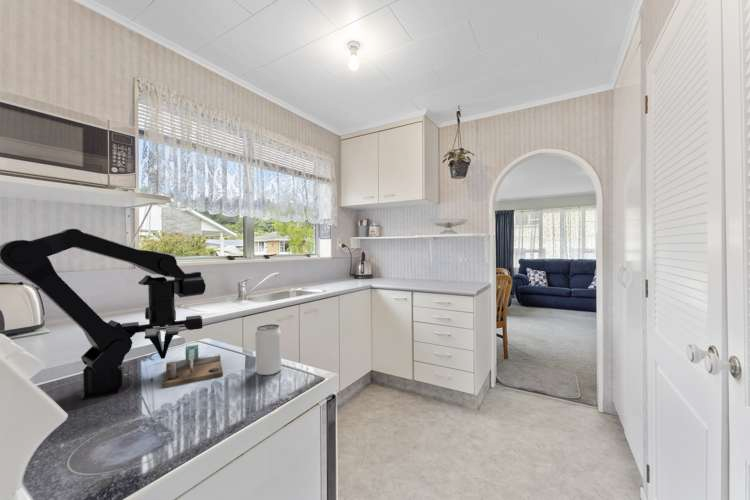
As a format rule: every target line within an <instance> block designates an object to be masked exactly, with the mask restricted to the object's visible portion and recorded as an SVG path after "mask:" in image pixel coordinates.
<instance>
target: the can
mask: <svg viewBox="0 0 750 500" xmlns="http://www.w3.org/2000/svg"><path fill="white" fill-rule="evenodd" d="M281 336H282V332H281V329H280V325H279V324H275V323H274V324H273V323H271V324H270V323H269V324H263V325H259V326H257V327H256V332H255V370H256V371H255V373H257V375H259V374H260V375H259V376H262V375H268V376H273V375H276V374H278V373H279V372H281V369H282V337H281ZM275 373H276V374H275ZM272 374H273V375H272Z"/></svg>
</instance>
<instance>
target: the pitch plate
mask: <svg viewBox="0 0 750 500" xmlns="http://www.w3.org/2000/svg"><path fill="white" fill-rule="evenodd" d="M222 366H223V365H222V362H221V353H216V354H211V355H204V356H198V359H196V360H193V373H190V361H186V358H185V359H180V360H174V361H168V362H166V363H165V368H166V369H165V373H164V377H163V382H162V388H163V389H164V388H169V387H174V386H179V385H184V384H189V383H193V382H194V383H195V382H199V380H200V381H204V380H203V379H205V380H209V378H210V379H215V378H220V377H223V375H224V372H223V367H222ZM219 376H220V377H219Z"/></svg>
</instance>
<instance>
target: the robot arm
mask: <svg viewBox="0 0 750 500" xmlns="http://www.w3.org/2000/svg"><path fill="white" fill-rule="evenodd" d="M73 248H75V249H77V250H78V249H79V250H82V251H85V252H89V253H92V254H96V255H99V256H102V257H107V258H110V259H114V260H117V261H121V262H125V263H127V264H131V265H132V266H134V267H136V268H138V269H140V270H143V272H144V271H145V272H147V273H149V274H151V275H159V276H158V277H152V276H151V275H148V274H145V276H144V277H143V278H142V279H141V280H140V281H138V284H139V285H142V286H148V287H147V288H148V306H147V307H145V311H144V318H145V320H148V324H140V323H139V321H134V322H124V323H120V322H118V321H115V320H112V319H111V320H109V321H108V322H107V321H105V320H104V319H102V318H101V317H100V316H99V314H98V313H97V312H96V311H95V310H94V309H93V308H91V307H90V305H88V304H87V302H86V301H85V300H83V299H82V297H80V296H79V295H78V294H77V292H75V291H74V290H73V288H71V287H70V286H69V284H67V282H65V281H64V280H63V278H62V277H60V276H59V275H58V273H57V271H56V270H55V268H54V265H53V264H52V261H51V260H50V259H49V257H50V256H53V255H56V254H59V253H61V252H64V251H67V250H69V249H73ZM0 264H1V266H4V267H5V268H7V269H8V270H10V271H12V272H13V273H14V274H16V275H18V276H20V277H21V278H22V279H25V280H26V281H28V282H29V283H31V284H32V285H35V287H36V288H37V289H39V291H40V292H41V293H42V294H44V295H45V297H47V298H48V299H49V300H50V301H52V303H54V305H55V306H56V307H58V308H59V310H61V311H62V312H63V313H64V314H65V315H66V316H67V317H68V318H69V319H70V320H71V321H72V322H73V323H74V324H75V325H77V326H78V327H79V328H80V329H81V330H82V331H83V333H84V335H85V336H86V339H87V341H88V342H89V344H90V345H91V347H90V348H88V350H87V351H86V352H84V354H82V355H81V357H80V359H81V361H82V363H83V364H84V365H85V367H84V369H83V370H82V374H83V395H81V398H80V399H81V401H83V400H88V399H94V398H98V397H103V396H104V397H105V396H108V395H113V394H118V393H119V392H120V390H121V388H123V386H124V384H125V367H124V366H122V364H123V362H124V360H125V356H126V355H127V354H129V352H130V351H131V350H132V345H133V340H132V337H134V335H135V334H137V333H144V335H145V336H144V339H145V340H146V339H147V340H149V341H150V342H151V343H152V344H153V345H154V348H155V349H156V352H157V353H158V355H159V357H160V359H161V360H163V359H166V356H167V352H168V349H169V347H170V344H171V342H172V340H173V338H174V336H177V335H179V332H180V329H181V328H185V329H187V330H188V331H193V330H200V329H203V316H202V315H200V314H198V315H189V316H185V319H182V320H177V316H176V315H177V313H176V312H177V311H176V308H175V307H176V306H175V301H176V300H175V295H177V296H178V297H179V298H186V297H187V298H188V297H195V296H202V295H204V293H205V291H206V283H205V280H204V278H203V276H202V272H201V271H193V272H188V273H185V272H184V271H183V270H182V269H181V267H180V266H179V265H178V261H177V260H176V257H175V256H174V255H173V254H170V253H167V252H166V253H165V252H159V251H153V250H152V251H151V250H147V249H145V250H144V249H138V248H135V247H132V246H129V245H126V244H123V243H120V242H116V241H113V240H110V239H106V238H103V237H100V236H97V235H94V234H91V233H88V232H84V231H83V230H81V229H79V228H78V229H77V228H68V229H64V230H62V231H60V232H57V233H53V234H50V235H47V236H43V237H39V238H35V239H32V240H26V239H25V240H24V239H19V240H17V239H16V240H10V241H7V242H5V243H3V244H1V245H0ZM160 275H161V276H160ZM167 278H174V279H167ZM163 330H165V333H164V339H163V341H162V333H161V331H163Z"/></svg>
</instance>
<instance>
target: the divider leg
mask: <svg viewBox="0 0 750 500" xmlns="http://www.w3.org/2000/svg"><path fill="white" fill-rule="evenodd" d="M198 357H199V344H194V345H188V346H185V359H186V361H190V373H193V360H196V359H198Z"/></svg>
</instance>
